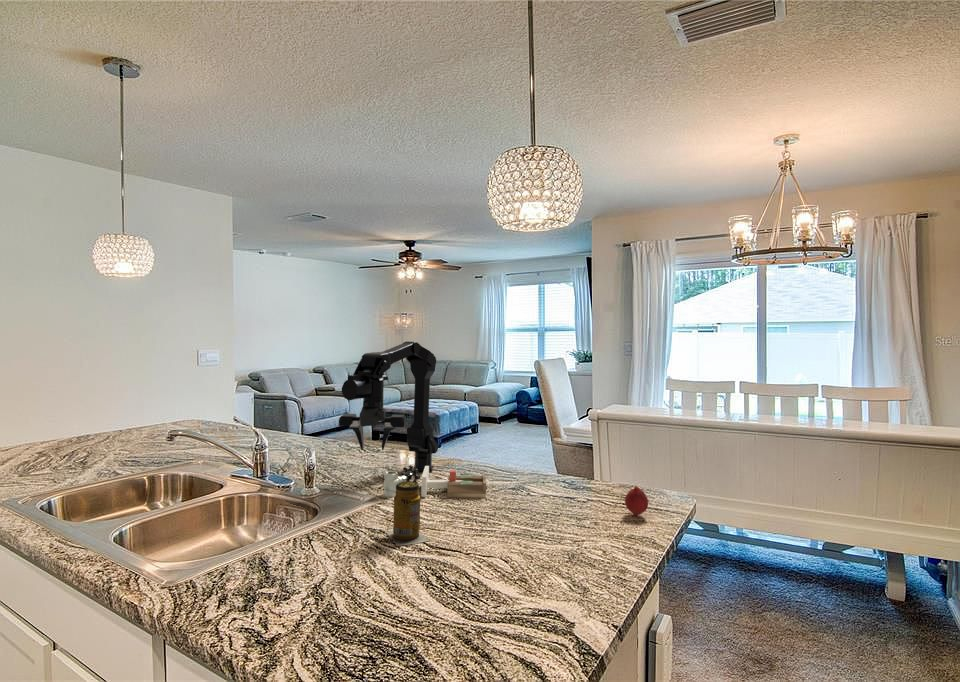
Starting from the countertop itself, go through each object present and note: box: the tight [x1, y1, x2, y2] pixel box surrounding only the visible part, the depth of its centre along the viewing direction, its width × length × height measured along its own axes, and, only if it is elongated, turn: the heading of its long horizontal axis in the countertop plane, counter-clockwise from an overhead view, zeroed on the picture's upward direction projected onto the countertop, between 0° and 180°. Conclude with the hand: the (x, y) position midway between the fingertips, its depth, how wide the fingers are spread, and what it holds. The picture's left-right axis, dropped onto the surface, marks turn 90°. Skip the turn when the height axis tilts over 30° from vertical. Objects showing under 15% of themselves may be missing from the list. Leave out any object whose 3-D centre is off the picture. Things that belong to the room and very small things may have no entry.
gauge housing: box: [446, 473, 487, 499], centre depth 151 cm, size 10×11×4 cm
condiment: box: [386, 480, 429, 547], centre depth 117 cm, size 7×8×12 cm
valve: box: [382, 464, 421, 498], centre depth 150 cm, size 7×7×12 cm
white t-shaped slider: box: [420, 466, 463, 498], centre depth 150 cm, size 12×12×6 cm
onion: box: [624, 484, 649, 516], centre depth 134 cm, size 6×6×8 cm
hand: (372, 449), depth 150 cm, fingers open, 6 cm apart
